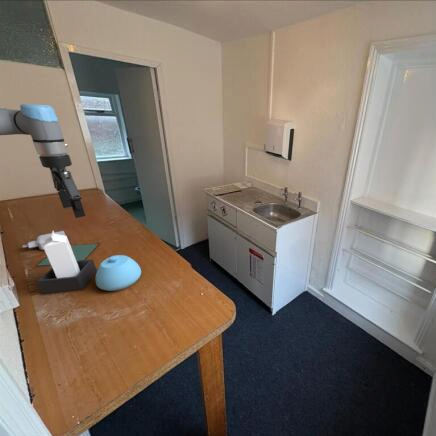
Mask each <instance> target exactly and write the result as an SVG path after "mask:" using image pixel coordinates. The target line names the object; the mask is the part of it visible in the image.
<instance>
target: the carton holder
mask: <svg viewBox="0 0 436 436" xmlns="http://www.w3.org/2000/svg"><path fill="white" fill-rule="evenodd" d="M77 264H78V267H79V269H80V272H79V273H78V275H77V276H74V277H65V278H57V277H56V275H55V273H54V270H53V268H52V267H51V268H50V269H49V270H48V271H47V272H46V273H44V274H43V276H41V277H40V278H39V279H38V280H37V282H36V283H37V284H38V286H39V288H40V290H41V292H42V294H43V295H48V294H58V293H67V292H75V291H83V289H84V288H85V287H86V285H87V284H88V283H89V282H90V280H91V279H92V278H93V277H94V275H96V273H97V271H98V269H97V266H96V264H95V261H94V259H91V258H89V259H84V260H79V261H77Z"/></svg>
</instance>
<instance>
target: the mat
mask: <svg viewBox="0 0 436 436" xmlns="http://www.w3.org/2000/svg"><path fill="white" fill-rule="evenodd" d="M98 245H99V244H98V243H92V244H91V243H89V244H74V245H70V246H71V248H72V251H73V254H74V256H75V259H76V261H79V260H86V258H87V257H88V256H89V255H90V254H91V253H92V252H93V251H94V249H95V248H96V247H97V246H98ZM45 266H51V264H50V261H49V259H48V257H47V256H46V257H45V258H44V259H43V260H42V261H40V262H39V263H38V264H37V265H36V267H45Z"/></svg>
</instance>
